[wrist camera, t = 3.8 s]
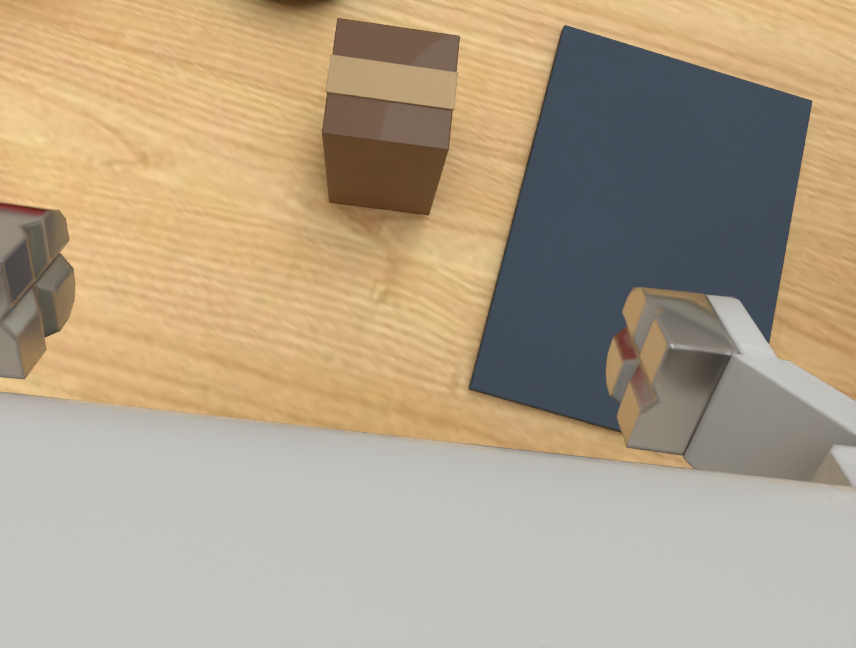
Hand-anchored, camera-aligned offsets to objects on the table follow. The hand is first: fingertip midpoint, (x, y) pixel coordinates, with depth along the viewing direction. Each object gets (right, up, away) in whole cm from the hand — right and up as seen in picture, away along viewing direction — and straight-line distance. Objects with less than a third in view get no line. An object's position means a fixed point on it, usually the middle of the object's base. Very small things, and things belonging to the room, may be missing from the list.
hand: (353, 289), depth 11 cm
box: (-1, +8, +26) cm, 28 cm away
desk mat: (+12, +4, +27) cm, 30 cm away
